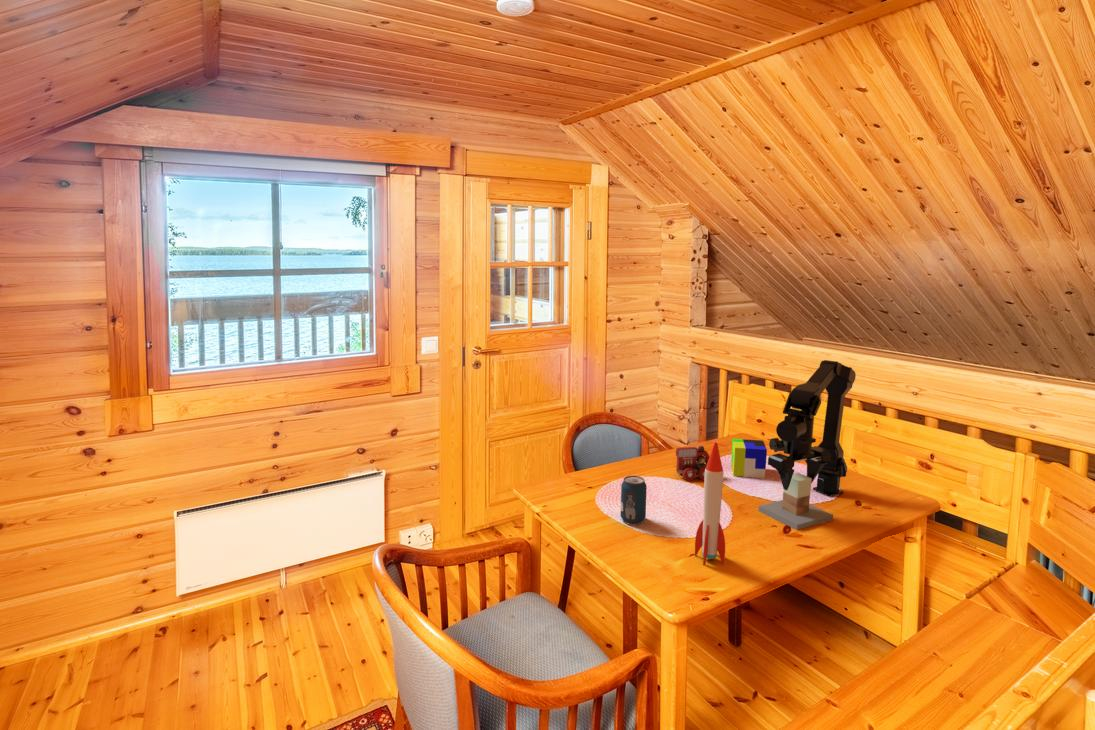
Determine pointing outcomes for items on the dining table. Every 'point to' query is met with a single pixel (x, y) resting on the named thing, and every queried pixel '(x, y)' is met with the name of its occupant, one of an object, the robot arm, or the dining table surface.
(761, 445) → the puzzle toy
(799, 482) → the sage cube
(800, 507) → the walnut cube
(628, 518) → the soda can
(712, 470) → the toy rocket
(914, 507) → the dining table surface
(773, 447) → the robot arm
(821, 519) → the base board
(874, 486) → the dining table surface
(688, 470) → the toy fire truck
